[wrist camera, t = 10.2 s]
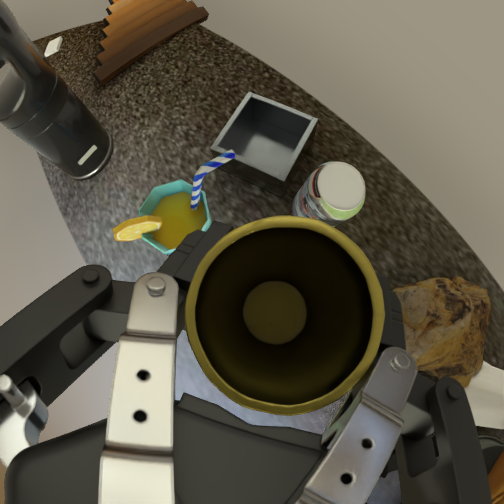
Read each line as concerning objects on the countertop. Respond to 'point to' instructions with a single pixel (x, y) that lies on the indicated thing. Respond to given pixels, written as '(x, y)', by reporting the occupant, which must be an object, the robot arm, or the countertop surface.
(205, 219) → the cup
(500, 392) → the cup
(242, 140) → the gray open box
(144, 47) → the pan flute
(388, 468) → the electric trimmer
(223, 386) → the vase
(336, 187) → the beverage can
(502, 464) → the pancake
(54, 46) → the eraser
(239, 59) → the countertop surface
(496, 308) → the countertop surface
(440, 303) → the rock
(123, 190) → the countertop surface
